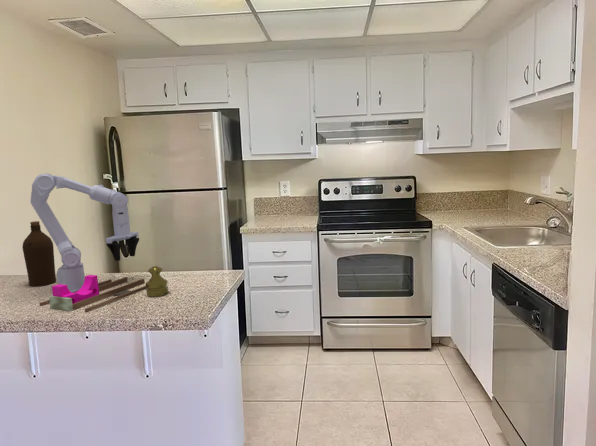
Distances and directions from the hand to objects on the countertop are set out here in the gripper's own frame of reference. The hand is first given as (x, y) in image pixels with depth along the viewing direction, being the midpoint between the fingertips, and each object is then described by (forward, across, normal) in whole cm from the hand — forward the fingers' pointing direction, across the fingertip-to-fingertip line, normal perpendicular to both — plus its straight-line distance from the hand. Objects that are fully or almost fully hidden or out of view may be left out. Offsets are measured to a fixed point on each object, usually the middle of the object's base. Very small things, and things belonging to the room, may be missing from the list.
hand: (125, 258), depth 176 cm
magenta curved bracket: (+10, -25, -3) cm, 27 cm away
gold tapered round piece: (+10, -10, -24) cm, 28 cm away
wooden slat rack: (+9, -17, -4) cm, 20 cm away
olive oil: (+10, -11, +34) cm, 37 cm away
